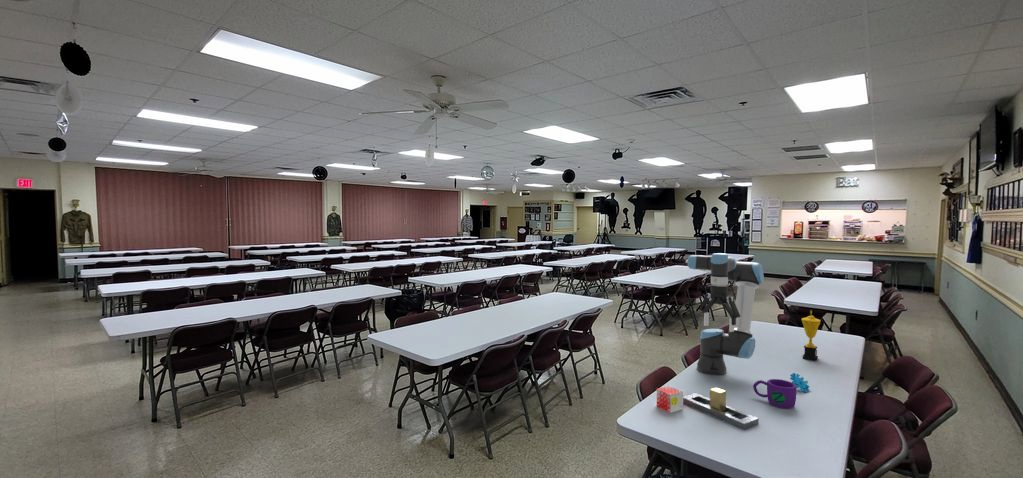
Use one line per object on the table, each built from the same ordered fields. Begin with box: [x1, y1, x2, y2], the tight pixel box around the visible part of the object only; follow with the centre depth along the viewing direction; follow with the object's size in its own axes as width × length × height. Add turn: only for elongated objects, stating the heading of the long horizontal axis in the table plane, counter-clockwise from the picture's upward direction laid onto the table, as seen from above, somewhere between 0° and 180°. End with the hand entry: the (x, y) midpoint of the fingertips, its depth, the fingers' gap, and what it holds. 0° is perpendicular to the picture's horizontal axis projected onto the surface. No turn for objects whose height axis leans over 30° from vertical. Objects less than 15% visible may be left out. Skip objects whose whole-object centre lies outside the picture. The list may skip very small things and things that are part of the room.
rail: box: [683, 392, 760, 431], centre depth 184 cm, size 30×10×2 cm, turn 29°
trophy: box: [801, 310, 821, 362], centre depth 258 cm, size 19×10×30 cm, turn 138°
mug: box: [752, 378, 797, 410], centre depth 194 cm, size 17×11×10 cm, turn 45°
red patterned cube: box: [656, 385, 684, 414], centre depth 189 cm, size 8×8×8 cm
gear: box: [789, 372, 810, 393], centre depth 211 cm, size 11×6×10 cm
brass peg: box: [709, 387, 727, 413], centre depth 184 cm, size 4×4×10 cm
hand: (718, 328), depth 205 cm, fingers open, 13 cm apart
